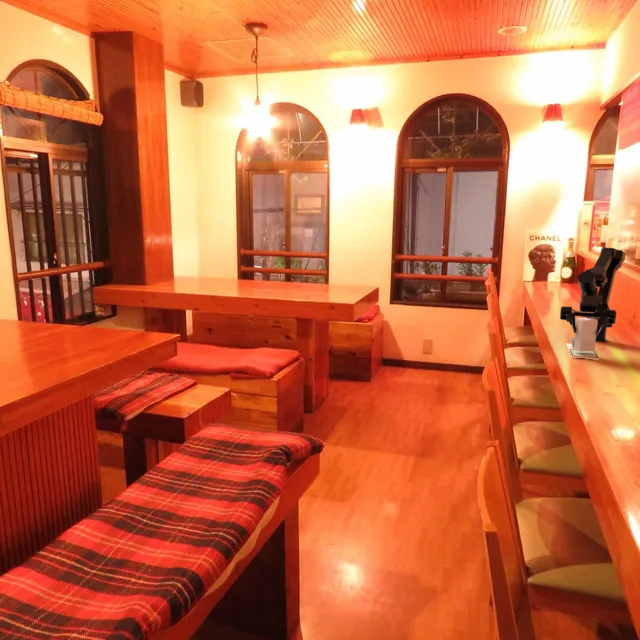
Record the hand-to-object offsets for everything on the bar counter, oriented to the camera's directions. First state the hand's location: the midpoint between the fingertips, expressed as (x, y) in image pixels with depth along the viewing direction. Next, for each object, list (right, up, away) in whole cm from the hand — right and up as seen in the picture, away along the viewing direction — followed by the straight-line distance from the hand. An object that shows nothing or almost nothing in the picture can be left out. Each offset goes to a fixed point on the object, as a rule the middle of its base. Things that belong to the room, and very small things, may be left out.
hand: (585, 333), depth 200 cm
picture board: (+2, -7, +8) cm, 11 cm away
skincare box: (+1, -6, +3) cm, 7 cm away
